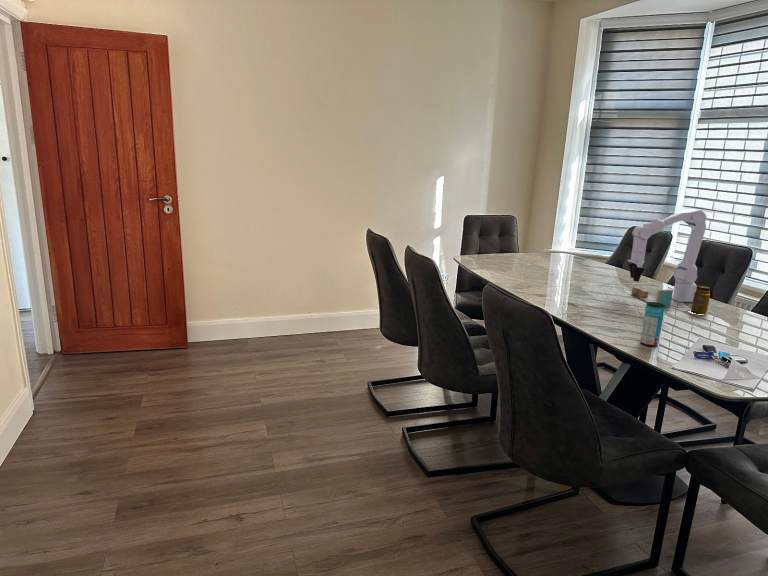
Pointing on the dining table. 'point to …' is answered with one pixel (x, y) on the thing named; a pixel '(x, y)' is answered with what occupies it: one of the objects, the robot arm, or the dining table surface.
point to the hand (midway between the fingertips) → (634, 279)
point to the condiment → (700, 300)
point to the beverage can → (652, 324)
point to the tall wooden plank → (642, 294)
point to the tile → (664, 297)
